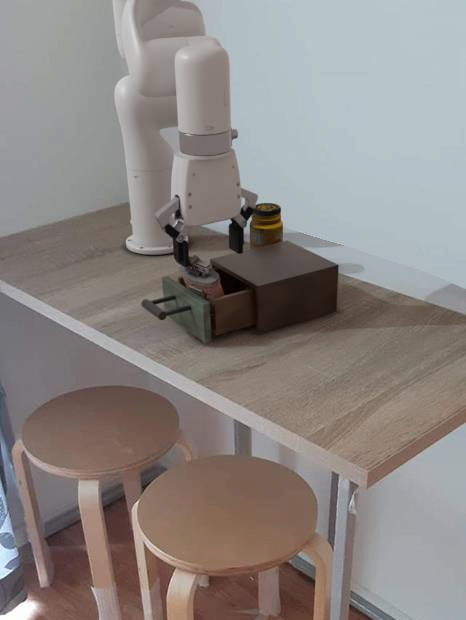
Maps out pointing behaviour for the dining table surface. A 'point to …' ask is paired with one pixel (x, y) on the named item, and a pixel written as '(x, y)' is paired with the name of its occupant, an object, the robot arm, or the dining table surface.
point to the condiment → (266, 225)
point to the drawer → (206, 306)
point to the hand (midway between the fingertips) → (209, 257)
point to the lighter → (202, 280)
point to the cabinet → (284, 283)
